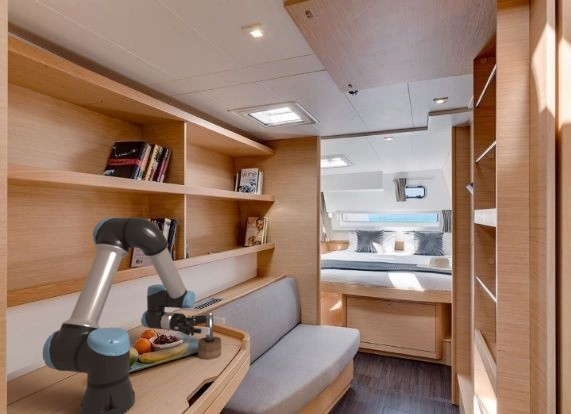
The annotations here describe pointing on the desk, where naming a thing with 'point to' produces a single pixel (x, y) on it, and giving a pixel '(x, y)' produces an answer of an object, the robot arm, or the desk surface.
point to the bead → (209, 348)
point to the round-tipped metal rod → (209, 326)
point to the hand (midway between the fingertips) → (216, 326)
